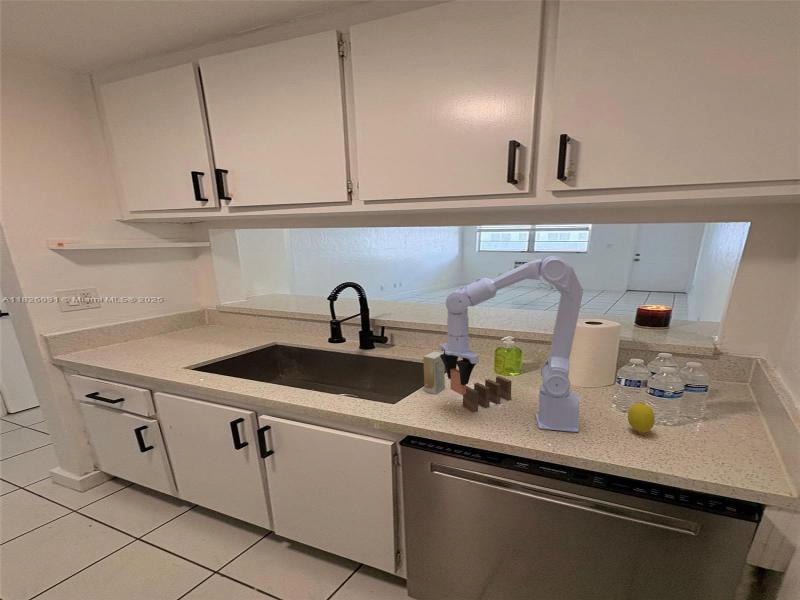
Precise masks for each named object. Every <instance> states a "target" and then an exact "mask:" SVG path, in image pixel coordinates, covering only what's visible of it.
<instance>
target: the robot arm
mask: <svg viewBox="0 0 800 600" xmlns="http://www.w3.org/2000/svg"><path fill="white" fill-rule="evenodd" d="M540 276H541V277H542V278H543V280H544V281H546V282H547V283H549V284H551V286H552V285H553V286H554V288H555V289H556V290H557V291H558V292H559V294H560V295H559V296H560V297H559V302H558V308H557V312H556V313H557V314H556V317H555V318H556V319H555V324H554V326H553V327H554V328H553V333H552V338H551V343H550V348H549V353H548V355H547V358H546V362H545V363H543V365H542V366H541V369H540V375H541V378H542V383H541V385H540V386H539V394H538V397H539V398H538V399H539V400H538V412H535V418H536V423H537V427H538V429H541V430H550V431H551V430H552V431H559V432H561V431H562V432H572V433H573V432H574V433H579V430H580V429H579V422H580V420H579V419H580V400H579V394H578V393H577V392H575V391H570V390H571V381H570V378H569V374H570V357H571V352H572V349H573V347H572V346H573V343H574V340H575V339H574V337H575V333H576V327H577V324H578V323H577V322H578V318H579V314H580V311H581V309H580V308H581V305H582V300H583V295H584V289H583V287H582V285H581V282H580V280H579V279H578V276H577V275H576V273H575V270H574V267H573V266H572V265H571V264H570V263H569V262H568V261H567V260H566V259H564V258H563V257H561V256H558V255H555V254H547V255H546V256H544V257H543V258H537V259H536V258H535V259H533V260H531V261H528V262H526V263H523V264H521V265H519V266H517V267H514V269H511V270H509V271H507V272H505V273H503V274H501V275H499V276H497V277H495V278H493V279H492V278H488V277H483V278H482V277H478V278H475V282H474V281H473V282H472V283H470V284H468V285H466V286H464V285H461V286H460V287H459V289H457V290H454V291H452V292H451V293H450V294H448V296H447V297H446V299H445V307H446V309H447V319H446V320H447V321H446V323H447V334H446V335H447V343H446V342H442V343H439V344H438V345H439V346H438V348H439V352H443V353H444V354H441V355H440V357H441V359H442V361H443V363H444V369H445V370H446V375H447V379H449V380H450V379H451V375H450V369H453V368H455V369H458V370H459V372H460V382H461V385H466V386H467V385H468V384H469V382H470V377H471V374H472V372H473V370H474V367H476V365H477V364H479V363H480V361H479V360H480V355H478V354H477V353H475V352H473V351H472V349H469V316H468V315H469V313H468V312H469V311H468V309H469V307H476V306H477V305H479V304H482V303H484V302H487V301H489V300H491V299H493V298H495V297H496V294H497V292H498V291H499V290H502V289H504V288H506V287H509V286H511V285H515V284H516V283H519V282H522V281H524V280H526V279H528V280H535V281H536V280H537V281H540ZM459 358H461V360H458V359H459ZM457 367H458V368H457Z"/></svg>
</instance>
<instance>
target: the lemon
mask: <svg viewBox="0 0 800 600" xmlns="http://www.w3.org/2000/svg"><path fill="white" fill-rule="evenodd" d="M655 418H656V417H655V413H654V410H653V409H652V408H651V407H650V405H648V404H646V403H645V402H643V401H641V402H636V403H634V404H632V405H631V406H630V407H629V409H628V411H627V420H628V424H629V426H631V428H632V429H634V430H635V431H636V432H637V433H639V434H642V433H646V432H649V431H651V430H652V428H654V425H655V420H656V419H655Z"/></svg>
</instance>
